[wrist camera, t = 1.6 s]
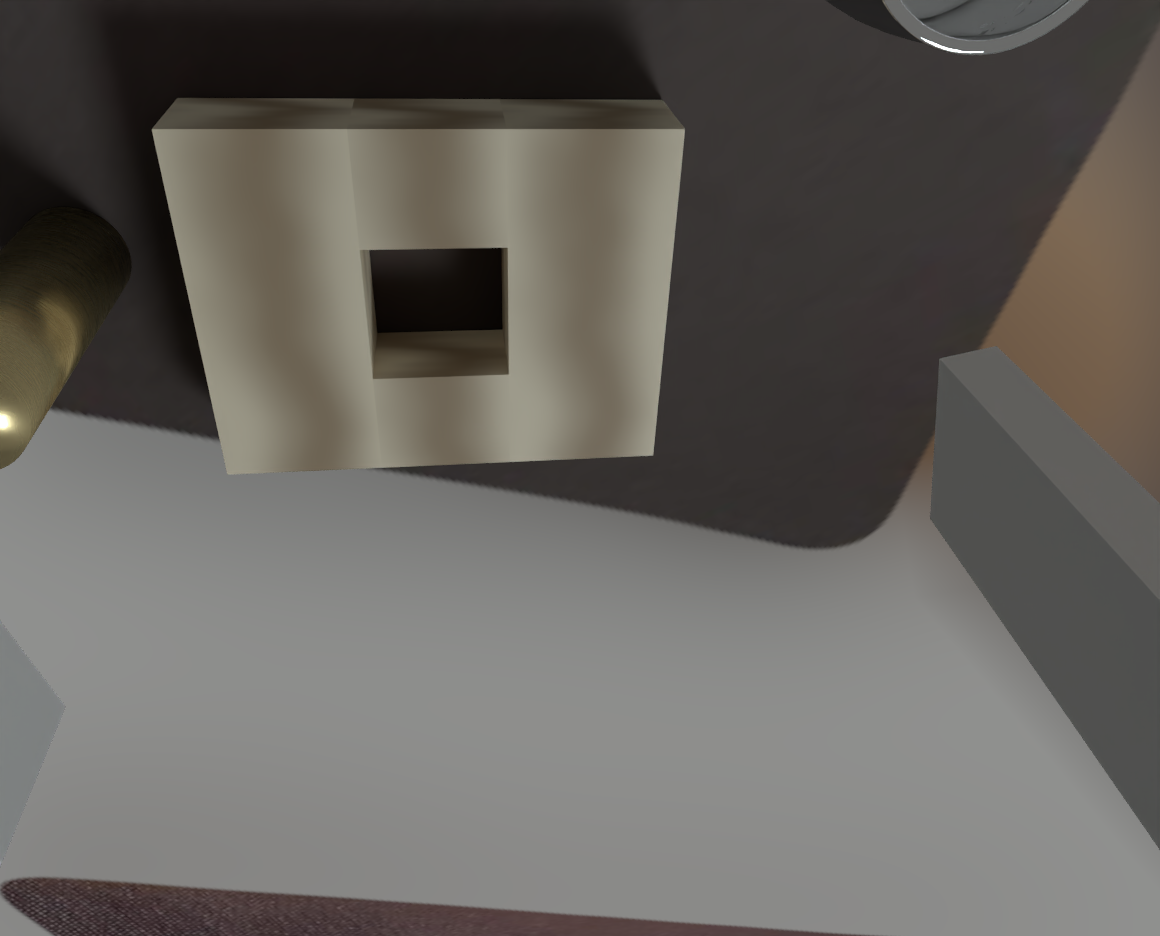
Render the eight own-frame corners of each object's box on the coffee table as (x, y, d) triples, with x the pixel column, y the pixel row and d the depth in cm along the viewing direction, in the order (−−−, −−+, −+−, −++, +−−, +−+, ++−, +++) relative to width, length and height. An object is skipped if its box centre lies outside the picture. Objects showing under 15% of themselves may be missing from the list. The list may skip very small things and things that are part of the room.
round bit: (37, 303, 38) (-96, 477, 28) (6, 207, 36) (-150, 359, 26) (142, 301, 39) (46, 470, 29) (117, 206, 36) (4, 355, 27)
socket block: (242, 423, 42) (227, 474, 39) (177, 98, 34) (151, 129, 31) (636, 407, 45) (653, 455, 41) (662, 99, 37) (685, 128, 33)
